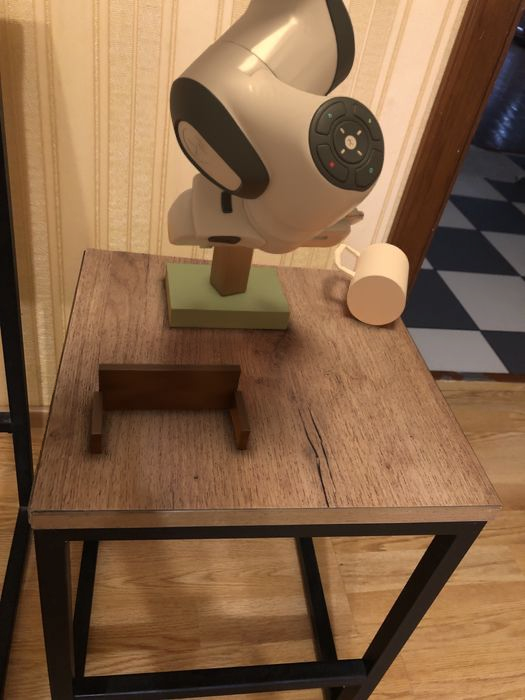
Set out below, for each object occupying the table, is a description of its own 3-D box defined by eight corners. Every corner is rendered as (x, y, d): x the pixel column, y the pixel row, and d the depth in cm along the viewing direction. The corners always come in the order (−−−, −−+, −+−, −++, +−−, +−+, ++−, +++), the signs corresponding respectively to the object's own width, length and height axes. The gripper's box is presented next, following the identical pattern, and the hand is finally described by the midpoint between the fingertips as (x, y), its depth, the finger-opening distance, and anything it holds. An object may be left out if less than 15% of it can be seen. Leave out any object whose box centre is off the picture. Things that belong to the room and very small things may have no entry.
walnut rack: (91, 453, 59) (90, 412, 55) (94, 403, 64) (93, 363, 60) (246, 449, 62) (255, 410, 59) (237, 402, 68) (244, 364, 64)
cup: (313, 293, 84) (324, 261, 92) (383, 334, 85) (389, 299, 93) (343, 250, 79) (352, 220, 86) (417, 294, 80) (420, 261, 88)
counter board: (169, 326, 76) (171, 308, 74) (165, 280, 84) (166, 262, 83) (286, 329, 80) (290, 312, 78) (271, 284, 88) (274, 267, 86)
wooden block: (233, 276, 83) (241, 226, 78) (247, 292, 80) (256, 241, 75) (208, 281, 81) (214, 230, 76) (221, 297, 78) (229, 245, 73)
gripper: (369, 182, 62) (317, 220, 75) (179, 171, 56) (159, 215, 69) (373, 240, 62) (321, 268, 75) (182, 236, 55) (161, 267, 68)
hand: (242, 242), depth 72 cm, fingers open, 8 cm apart
